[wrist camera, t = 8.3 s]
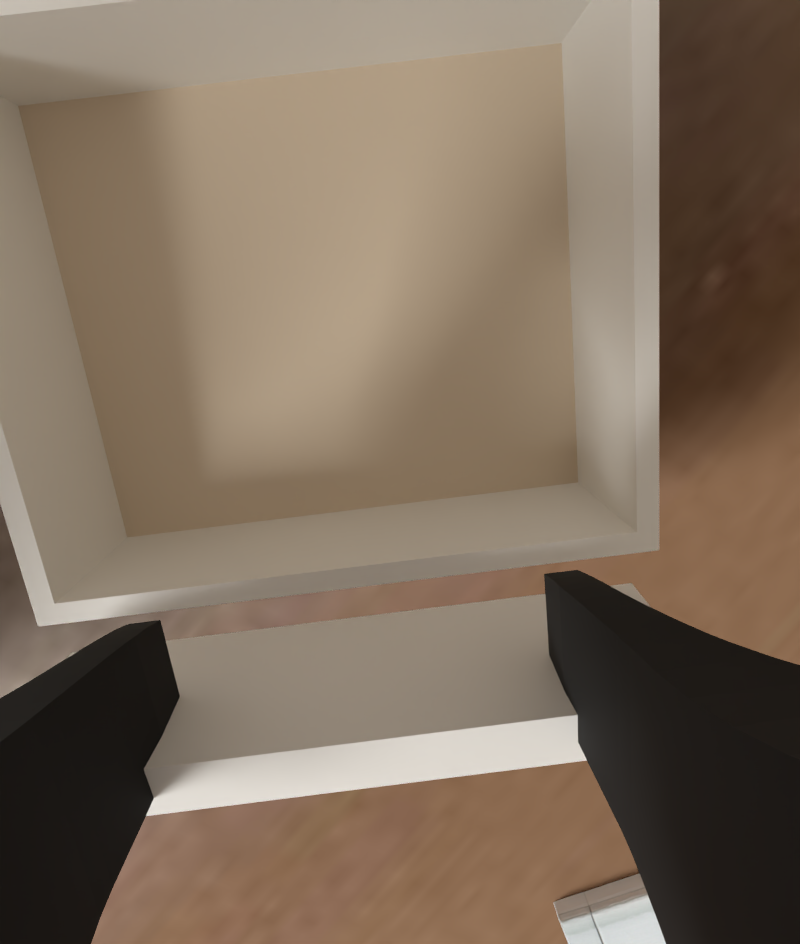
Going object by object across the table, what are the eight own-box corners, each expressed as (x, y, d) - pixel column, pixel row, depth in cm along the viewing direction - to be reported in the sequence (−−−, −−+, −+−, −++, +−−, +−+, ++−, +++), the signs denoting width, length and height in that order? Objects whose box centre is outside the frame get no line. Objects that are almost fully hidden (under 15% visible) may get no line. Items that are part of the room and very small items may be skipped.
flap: (71, 652, 13) (85, 691, 13) (-33, 791, 10) (-11, 838, 10) (631, 583, 13) (630, 623, 14) (722, 696, 10) (717, 745, 10)
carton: (121, 548, 18) (38, 626, 13) (3, 92, 14) (-156, -3, 10) (589, 491, 18) (659, 549, 13) (574, 26, 15) (658, -95, 10)
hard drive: (910, 816, 20) (561, 931, 21) (940, 982, 22) (622, 1081, 23) (870, 779, 22) (548, 887, 22) (902, 937, 24) (606, 1031, 25)
